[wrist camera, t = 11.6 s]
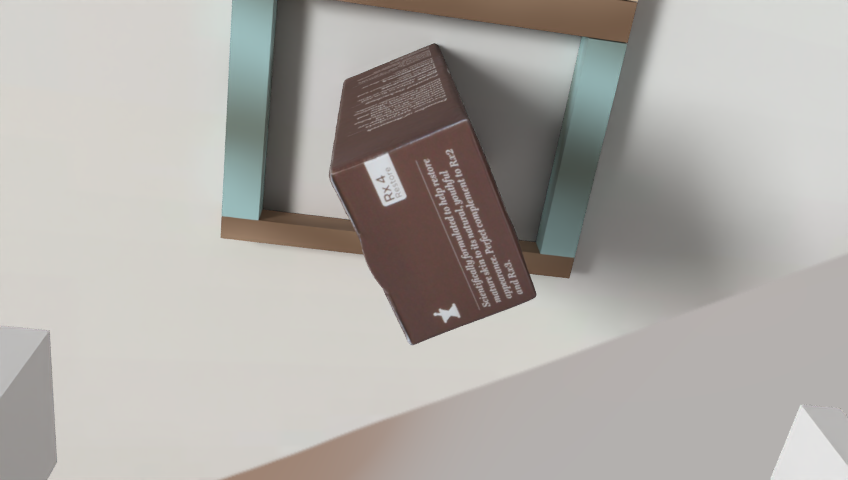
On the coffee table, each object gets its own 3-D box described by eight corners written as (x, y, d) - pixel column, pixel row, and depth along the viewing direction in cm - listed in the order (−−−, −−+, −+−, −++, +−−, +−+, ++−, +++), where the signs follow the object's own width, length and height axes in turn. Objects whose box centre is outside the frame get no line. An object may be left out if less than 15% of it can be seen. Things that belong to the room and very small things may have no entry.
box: (494, 165, 34) (543, 304, 23) (396, 203, 35) (398, 356, 24) (443, 31, 32) (471, 116, 21) (338, 74, 32) (311, 179, 22)
